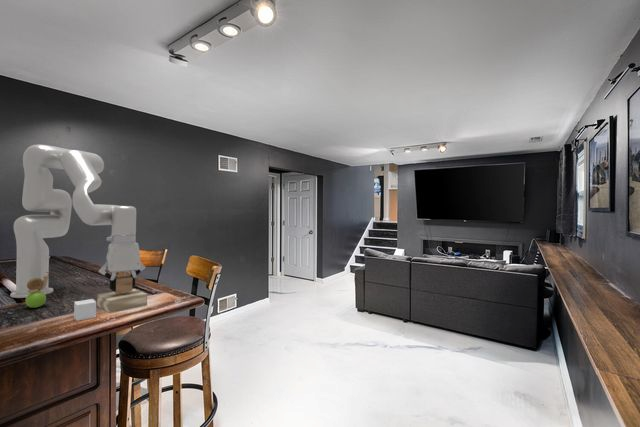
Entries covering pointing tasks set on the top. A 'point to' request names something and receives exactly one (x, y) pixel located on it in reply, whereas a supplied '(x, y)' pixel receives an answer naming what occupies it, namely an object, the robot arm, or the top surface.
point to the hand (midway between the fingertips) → (122, 288)
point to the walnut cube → (123, 284)
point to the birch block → (121, 300)
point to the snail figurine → (36, 292)
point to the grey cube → (84, 309)
